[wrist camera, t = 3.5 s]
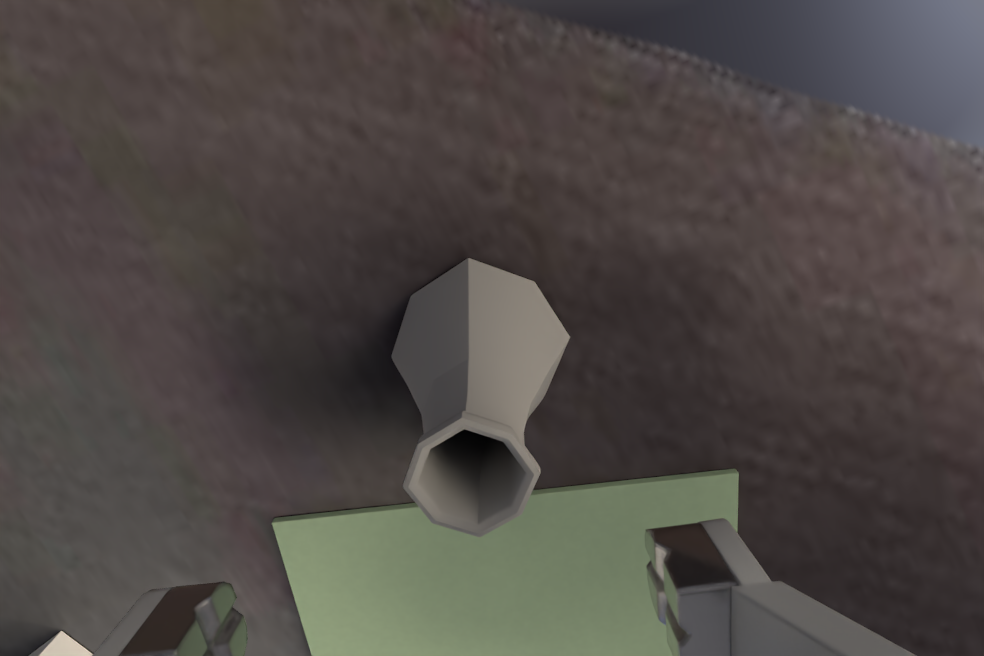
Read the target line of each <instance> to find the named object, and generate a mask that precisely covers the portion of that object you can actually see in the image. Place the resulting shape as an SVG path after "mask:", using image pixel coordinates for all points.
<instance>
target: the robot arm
mask: <svg viewBox="0 0 984 656" xmlns="http://www.w3.org/2000/svg"><path fill="white" fill-rule="evenodd" d="M645 548H646V550H647V553H648V555H649V557H650V561H649V563H648V564H647V566H646V569H647V580H648V586H649V591H650V596H651V600H652V603H653V606H654V609H655V612H656V615H657V617H658V620H659V621H660V622H662V623H663V624H664V625H666V632H667V643H668V645H669V648H670V650H671V653H672V655H673V656H916V655H914V654H913V653H911V652H909V651H907V650H905V649H903V648H902V647H900V646H898V645H896V644H894V643H893V642H891V641H889V640H887V639H885V638H883V637H882V636H880V635H878V634H876V633H874V632H873V631H871V630H869V629H867V628H865V627H863V626H862V625H860V624H858V623H856V622H854V621H853V620H851V619H849V618H847V617H845V616H843V615H842V614H840V613H838V612H836V611H834V610H833V609H831V608H829V607H827V606H825V605H823V604H822V603H820V602H818V601H816V600H814V599H813V598H811V597H809V596H807V595H805V594H803V593H802V592H800V591H798V590H796V589H794V588H793V587H791V586H789V585H787V584H785V583H783V582H782V581H774V582H772V581H771V580H770V578H769V577H768V575H767V574H766V573H765V571H764V570H763V568H762V567H761V566H760V564H759V563H758V561H757V560H756V559H755V557H754V556H753V554H752V553H751V552H750V550H749V549H748V547H747V546H746V545H745V543H744V542H743V540H742V539H741V538H740V536H739V535H738V534H737V532H736V531H735V529H734V528H733V527H732V525H731V524H730V522H729V521H728V520H726V519H724V518H720V519H713V520H707V521H700V522H697V523H690V524H682V525H675V526H667V527H659V528H652V529H645ZM236 598H237V597H236V594H235V592H234V590H233V587H232V585H231V584H230V583H226V582H217V583H207V584H197V585H187V586H177V587H173V588H162V589H152V590H150V591H148V592H146V593H144V594H142V595H141V597H140V598H139V599H138V600H137V602H136V603H135V604H134V605H133V606H132V608H131V609H130V610H129V611H128V612H127V614H126V615H125V616H124V617H123V619H122V620H121V621H120V622H119V623H118V625H117V626H116V627H115V628H114V630H113V631H112V632H111V633H110V634H109V636H108V637H107V638H106V639H105V640H104V642H103V643H102V644H101V645H100V647H99V648H98V649H97V650H96V651H95V653H94V654H93V655H92V656H244V655H245V650H246V644H247V639H248V637H247V625H246V622H245V619H244V616H243V615H242V614H240V613H239V612H238V611H237V610H235V609H234V608H233V605H234V602H235V600H236Z"/></svg>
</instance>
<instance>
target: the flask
mask: <svg viewBox="0 0 984 656" xmlns="http://www.w3.org/2000/svg"><path fill="white" fill-rule="evenodd" d="M569 339H570V336H569V335H568V333H567V331H566V330H565V328H564V327H563V325H562V324H561V322H560V321H559V319H558V317H557V316H556V314H555V313H554V311H553V310H552V308H551V307H550V305H549V303H548V302H547V300H546V299H545V297H544V296H543V294H542V292H541V291H540V289H539V288H538V286H537V285H536V283H535V282H534V281H531V280H529V279H526V278H523V277H520V276H518V275H515V274H512V273H509V272H506V271H504V270H501V269H498V268H495V267H493V266H490V265H487V264H484V263H481V262H479V261H476V260H473V259H470V258H467V259H466V260H464V261H463V262H461V263H460V264H458V265H457V266H455V267H454V268H452V269H451V270H449V271H448V272H446V273H445V274H443V275H442V276H440V277H438V278H437V279H435V280H434V281H432V282H431V283H429V284H428V285H426V286H425V287H423V288H422V289H420V290H419V291H417V292H416V293H414V294H413V295H411V297H410V300H409V303H408V306H407V309H406V312H405V315H404V318H403V321H402V325H401V328H400V331H399V334H398V337H397V340H396V343H395V346H394V349H393V352H392V355H391V358H392V360H393V362H394V364H395V366H396V367H397V369H398V371H399V372H400V374H401V376H402V377H403V379H404V380H405V382H406V384H407V386H408V388H409V390H410V392H411V394H412V396H413V398H414V400H415V402H416V404H417V406H418V408H419V410H420V413H421V415H422V423H423V432H424V434H423V435H422V436H421V437H420V438H419V440H418V443H417V445H416V448H415V451H414V454H413V457H412V459H411V462H410V465H409V468H408V470H407V473H406V476H405V479H404V482H403V488H404V489H405V491H406V492H407V493H408V494H409V496H410V497H411V498H412V499H413V500H414V502H415V503H416V504H417V505H418V507H419V508H420V509H421V510H422V511H423V513H424V514H425V515H426V516H427V517H428V519H429V520H430V521H431V522H432V523H433V524H436V525H440V526H443V527H446V528H450V529H453V530H456V531H460V532H463V533H466V534H470V535H473V536H476V537H482V536H483V535H485V534H487V533H489V532H491V531H493V530H494V529H496V528H498V527H500V526H502V525H504V524H505V523H507V522H509V521H511V520H513V519H515V518H516V517H518V516H520V515H522V513H523V511H524V509H525V506H526V504H527V502H528V500H529V498H530V495H531V493H532V491H533V489H534V486H535V484H536V482H537V480H538V478H539V475H540V467H539V465H538V463H537V462H536V461H535V459H534V458H533V456H532V455H531V454H530V452H529V451H528V449H527V448H526V447H525V442H524V429H525V425H526V421H527V419H528V418H529V416H530V415H531V414H532V412H533V411H534V410H535V409H536V407H537V406H538V405H539V404H540V402H541V401H542V399H543V398H544V396H545V394H546V392H547V390H548V388H549V385H550V383H551V381H552V378H553V376H554V374H555V371H556V369H557V367H558V364H559V362H560V360H561V357H562V355H563V353H564V350H565V348H566V346H567V343H568V341H569Z"/></svg>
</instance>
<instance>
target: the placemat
mask: <svg viewBox="0 0 984 656" xmlns="http://www.w3.org/2000/svg"><path fill="white" fill-rule="evenodd" d="M738 479H739V473H738V472H737V470H736V469H726V470H717V471H707V472H698V473H689V474H679V475H670V476H660V477H651V478H642V479H632V480H623V481H614V482H604V483H595V484H586V485H576V486H567V487H558V488H548V489H539V490H533V491H532V493H531V495H530V498H529V500H528V502H527V504H526V506H525V509H524V511H523V513H522V515H520V516H518V517H516V518H515V519H513V520H511V521H509V522H507V523H505V524H504V525H502V526H500V527H498V528H496V529H494V530H493V531H491V532H489V533H487V534H485V535H483V536H482V537H476V536H473V535H470V534H466V533H463V532H460V531H456V530H453V529H450V528H446V527H443V526H440V525H436V524H433V523H432V522H431V521H430V520H429V519H428V517H427V516H426V515H425V514H424V513H423V511H422V510H421V509H420V508H419V507H418V505H417V504H416V503H408V504H399V505H389V506H380V507H371V508H361V509H352V510H343V511H333V512H324V513H315V514H305V515H296V516H287V517H277V518H274V520H273V521H272V526H273V529H274V533H275V536H276V539H277V542H278V546H279V549H280V552H281V556H282V559H283V562H284V566H285V569H286V572H287V576H288V579H289V582H290V585H291V589H292V592H293V595H294V599H295V602H296V605H297V609H298V612H299V615H300V619H301V622H302V625H303V628H304V632H305V635H306V638H307V642H308V645H309V648H310V652H311V655H312V656H673V655H672V653H671V650H670V648H669V645H668V643H667V632H666V625H664V624H663V623H662V622H660V621H659V620H658V617H657V615H656V612H655V609H654V606H653V603H652V600H651V596H650V591H649V586H648V580H647V569H646V566H647V564H648V563H649V561H650V557H649V555H648V553H647V550H646V548H645V529H652V528H659V527H667V526H675V525H682V524H690V523H697V522H700V521H707V520H713V519H720V518H724V519H726V520H728V521H729V522H730V524H731V525H732V527H733V528H734V529H735V531H736V532H737V523H738Z"/></svg>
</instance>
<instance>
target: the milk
mask: <svg viewBox="0 0 984 656" xmlns="http://www.w3.org/2000/svg"><path fill="white" fill-rule="evenodd" d="M92 655H93V654H92V653H91V652H89V651H88V650H87V649H85V648H84V647H83V646H81V645H80V644H79V643H77V642H76V641H75V640H73V639H72V638H71V637H69V636H68V635H67V634H65V633H64V632H63V631H60V632H59V633H58V634H56V635H55V636H54V637H52V638H51V639H50V640H48V641H47V642H46V643H44V644H43V645H42V646H41V647H39V648H38V649H37V650H35V651H34V652H33V653H31V654H30V655H29V656H92Z"/></svg>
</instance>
